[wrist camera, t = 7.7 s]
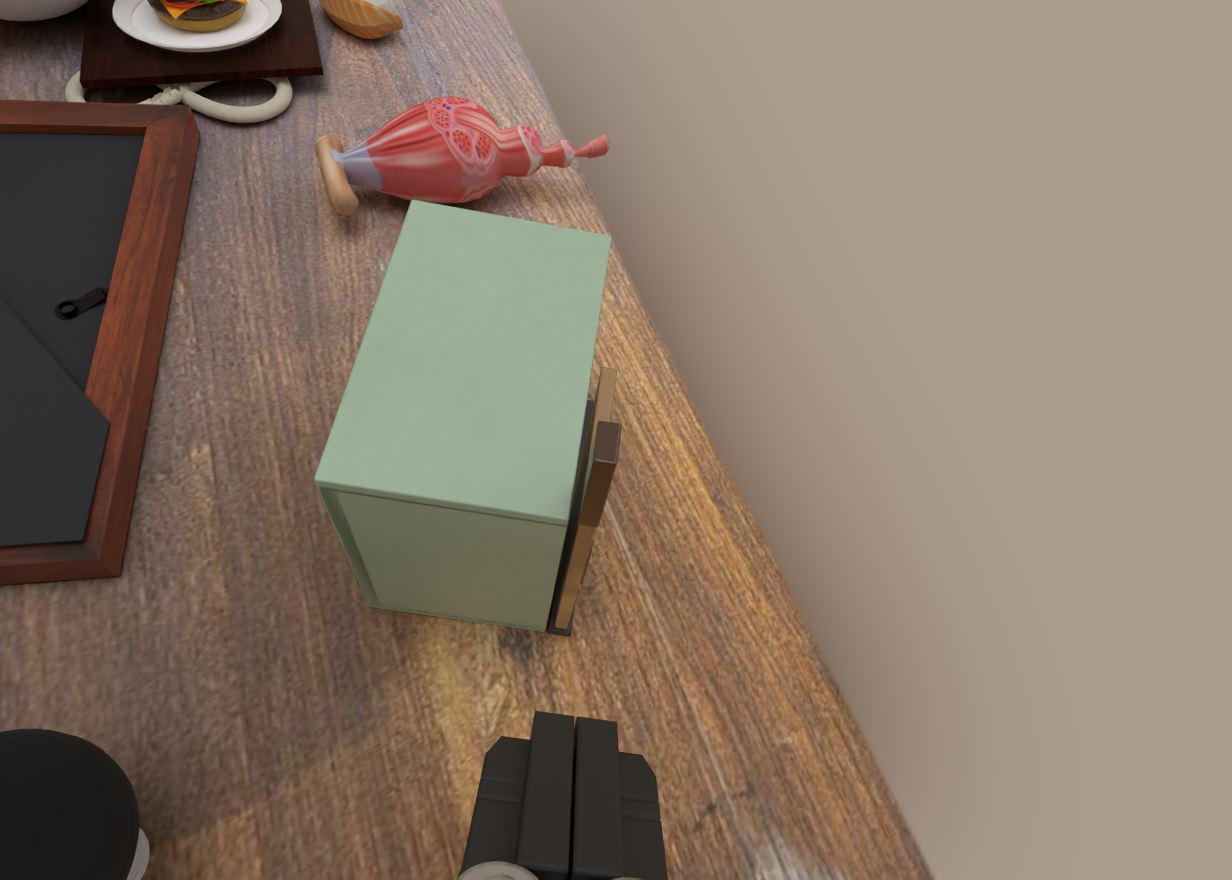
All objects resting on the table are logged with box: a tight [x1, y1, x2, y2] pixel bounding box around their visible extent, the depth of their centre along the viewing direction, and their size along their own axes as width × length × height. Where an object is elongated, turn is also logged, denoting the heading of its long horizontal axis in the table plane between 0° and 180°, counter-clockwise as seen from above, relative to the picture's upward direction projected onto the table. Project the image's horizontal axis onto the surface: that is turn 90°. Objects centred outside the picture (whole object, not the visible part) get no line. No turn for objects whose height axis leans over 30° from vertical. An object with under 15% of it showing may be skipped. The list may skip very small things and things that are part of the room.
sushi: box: [319, 0, 403, 39], centre depth 47 cm, size 3×6×3 cm
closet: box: [314, 200, 612, 636], centre depth 29 cm, size 8×11×11 cm
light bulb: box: [0, 729, 150, 880], centre depth 21 cm, size 6×6×10 cm
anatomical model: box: [315, 96, 610, 216], centre depth 40 cm, size 15×5×6 cm
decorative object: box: [65, 71, 292, 123], centre depth 42 cm, size 11×1×5 cm
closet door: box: [554, 367, 621, 629], centre depth 25 cm, size 1×6×14 cm, turn 174°
